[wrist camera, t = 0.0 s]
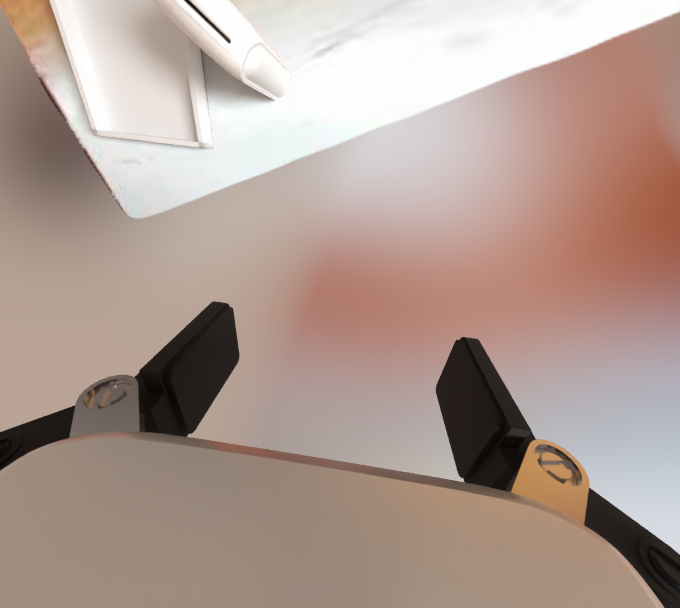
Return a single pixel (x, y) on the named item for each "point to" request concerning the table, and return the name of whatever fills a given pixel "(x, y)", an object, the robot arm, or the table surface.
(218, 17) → the photo printer
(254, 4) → the table surface
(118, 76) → the tray
